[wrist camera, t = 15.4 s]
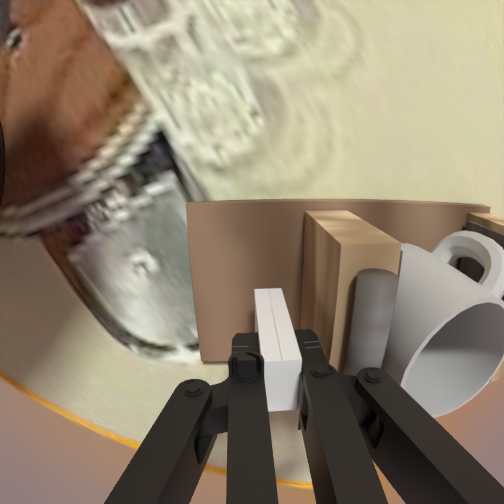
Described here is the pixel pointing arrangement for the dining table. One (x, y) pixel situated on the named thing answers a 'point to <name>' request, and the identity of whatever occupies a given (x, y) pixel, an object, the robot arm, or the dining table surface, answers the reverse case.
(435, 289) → the cup
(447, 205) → the base
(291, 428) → the dining table surface
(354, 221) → the block
